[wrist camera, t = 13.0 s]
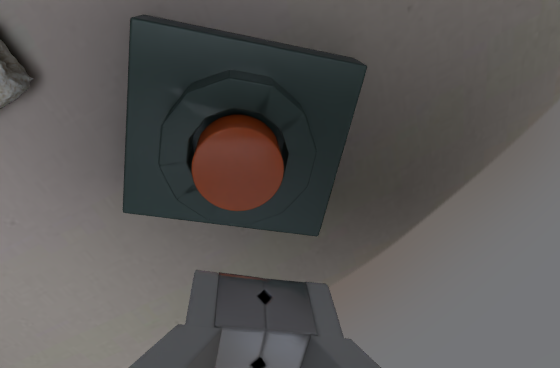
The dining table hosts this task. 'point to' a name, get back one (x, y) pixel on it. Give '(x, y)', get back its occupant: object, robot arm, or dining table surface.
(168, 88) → the button box
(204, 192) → the button
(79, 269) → the dining table surface
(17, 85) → the washcloth
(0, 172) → the dining table surface
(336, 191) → the dining table surface
